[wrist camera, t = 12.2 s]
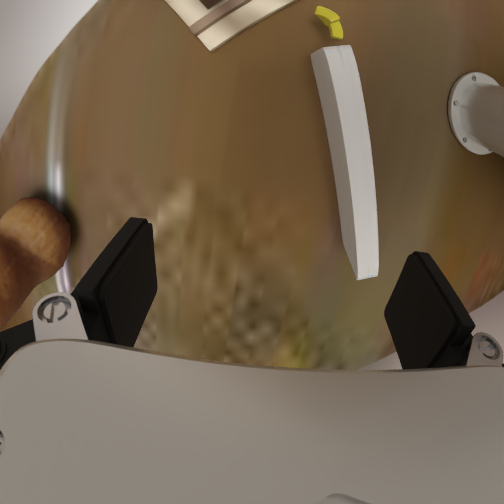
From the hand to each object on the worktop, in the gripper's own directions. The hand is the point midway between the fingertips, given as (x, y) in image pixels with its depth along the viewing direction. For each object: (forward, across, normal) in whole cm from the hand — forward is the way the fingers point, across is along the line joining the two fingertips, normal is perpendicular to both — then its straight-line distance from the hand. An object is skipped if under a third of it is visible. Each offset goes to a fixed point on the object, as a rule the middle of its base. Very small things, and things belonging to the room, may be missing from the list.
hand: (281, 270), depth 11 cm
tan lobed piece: (+30, +36, +17) cm, 49 cm away
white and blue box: (+30, -9, -1) cm, 31 cm away
